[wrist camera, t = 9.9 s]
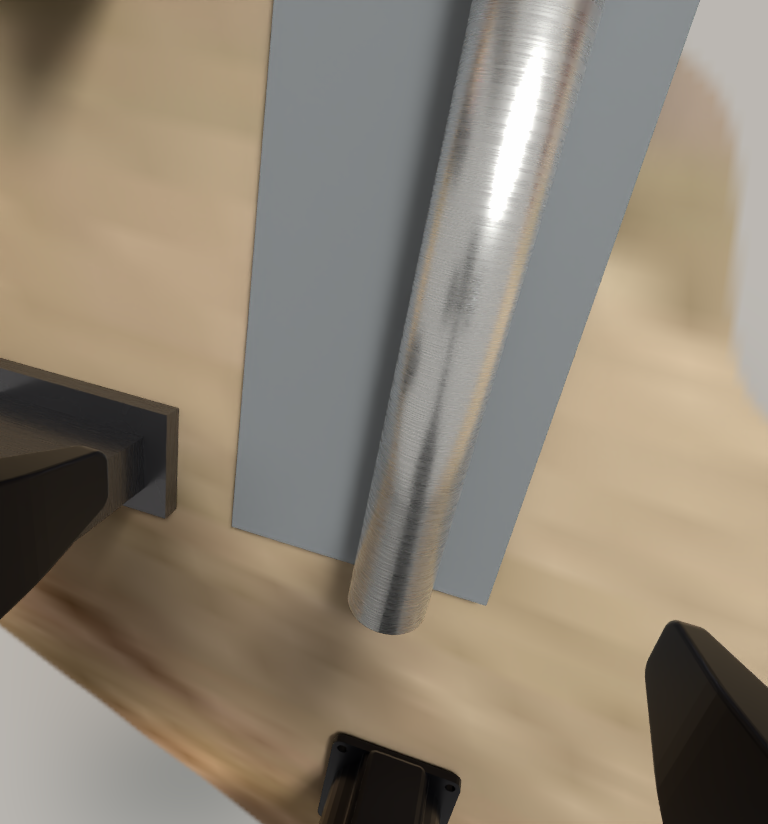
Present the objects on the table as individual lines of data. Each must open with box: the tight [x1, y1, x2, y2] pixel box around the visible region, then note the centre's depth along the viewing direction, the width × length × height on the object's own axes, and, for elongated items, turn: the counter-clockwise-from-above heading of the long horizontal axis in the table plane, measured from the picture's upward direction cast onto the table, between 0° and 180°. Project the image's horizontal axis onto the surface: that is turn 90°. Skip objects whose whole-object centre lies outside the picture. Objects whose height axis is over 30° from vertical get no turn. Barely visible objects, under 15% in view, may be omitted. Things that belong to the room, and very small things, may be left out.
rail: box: [348, 0, 606, 635], centre depth 15 cm, size 24×3×3 cm
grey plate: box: [232, 0, 700, 606], centre depth 17 cm, size 24×11×1 cm, turn 169°
